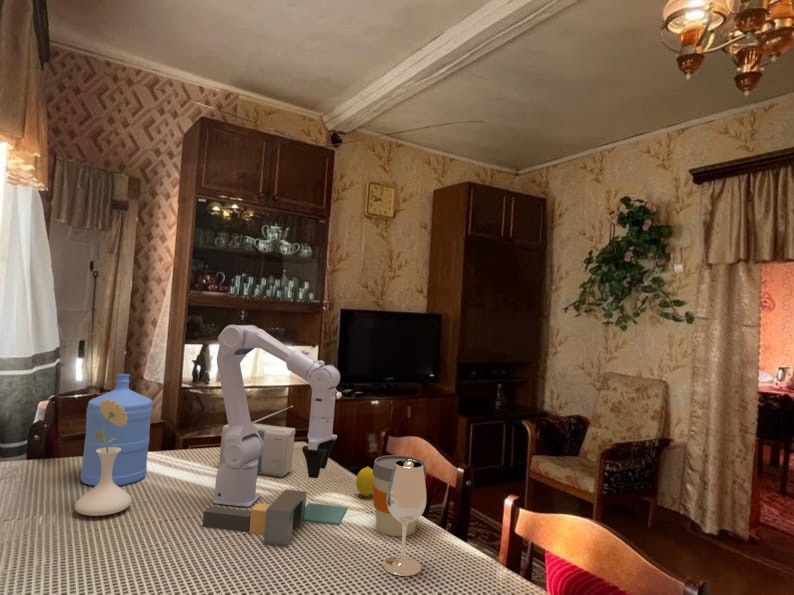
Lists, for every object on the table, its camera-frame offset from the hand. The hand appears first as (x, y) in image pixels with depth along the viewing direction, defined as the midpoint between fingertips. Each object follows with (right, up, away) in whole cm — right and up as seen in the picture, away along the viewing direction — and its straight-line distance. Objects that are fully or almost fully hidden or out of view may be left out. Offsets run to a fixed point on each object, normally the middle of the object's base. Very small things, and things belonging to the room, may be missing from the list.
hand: (317, 472), depth 122 cm
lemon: (+11, -12, +14) cm, 21 cm away
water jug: (-57, -7, +15) cm, 60 cm away
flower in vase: (-48, -7, -6) cm, 49 cm away
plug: (-10, -9, -11) cm, 18 cm away
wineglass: (+20, -11, -23) cm, 32 cm away
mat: (+1, -10, 0) cm, 10 cm away
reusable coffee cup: (+19, -11, -5) cm, 23 cm away
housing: (-5, -9, -12) cm, 16 cm away
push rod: (-18, -9, -10) cm, 22 cm away
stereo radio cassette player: (-23, -10, +29) cm, 38 cm away
